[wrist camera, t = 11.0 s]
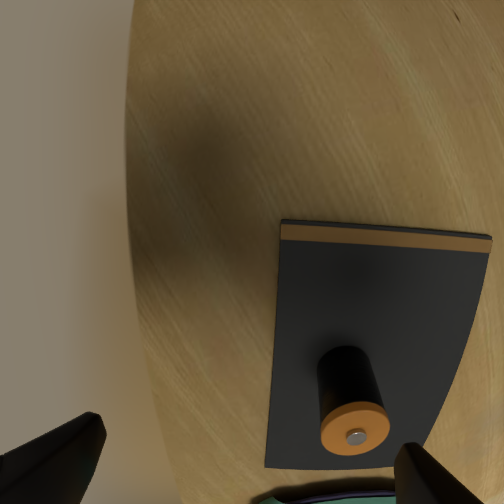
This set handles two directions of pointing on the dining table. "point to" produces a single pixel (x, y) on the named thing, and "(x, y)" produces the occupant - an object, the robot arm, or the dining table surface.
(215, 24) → the dining table surface
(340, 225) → the desk mat
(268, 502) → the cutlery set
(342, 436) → the battery
